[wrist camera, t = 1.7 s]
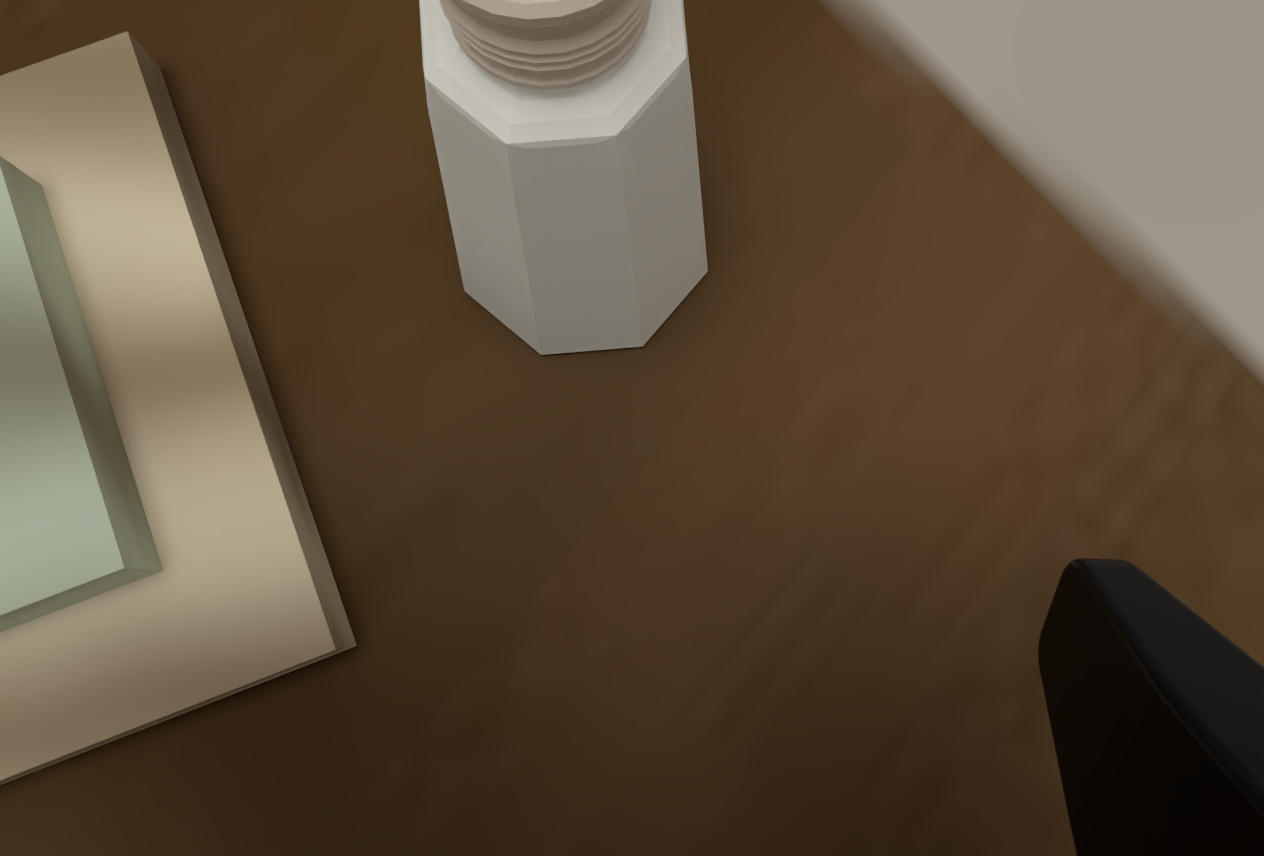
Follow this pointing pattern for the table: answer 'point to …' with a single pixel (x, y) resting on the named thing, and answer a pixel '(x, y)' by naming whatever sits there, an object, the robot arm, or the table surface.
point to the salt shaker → (568, 163)
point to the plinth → (132, 430)
